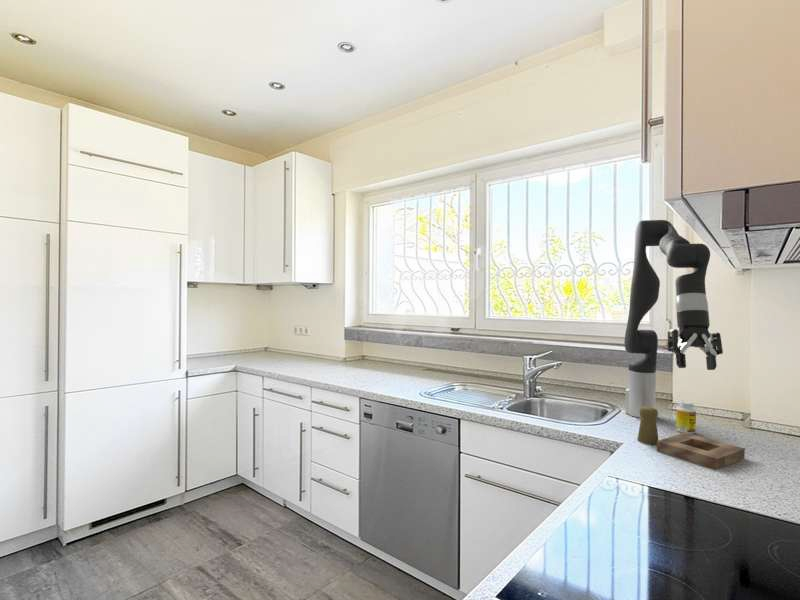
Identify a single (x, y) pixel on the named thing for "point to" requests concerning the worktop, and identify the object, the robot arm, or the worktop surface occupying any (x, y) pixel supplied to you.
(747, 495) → the worktop surface
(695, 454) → the hole plate
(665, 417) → the worktop surface
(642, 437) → the olive tapered peg
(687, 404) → the supplement bottle
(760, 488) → the worktop surface
